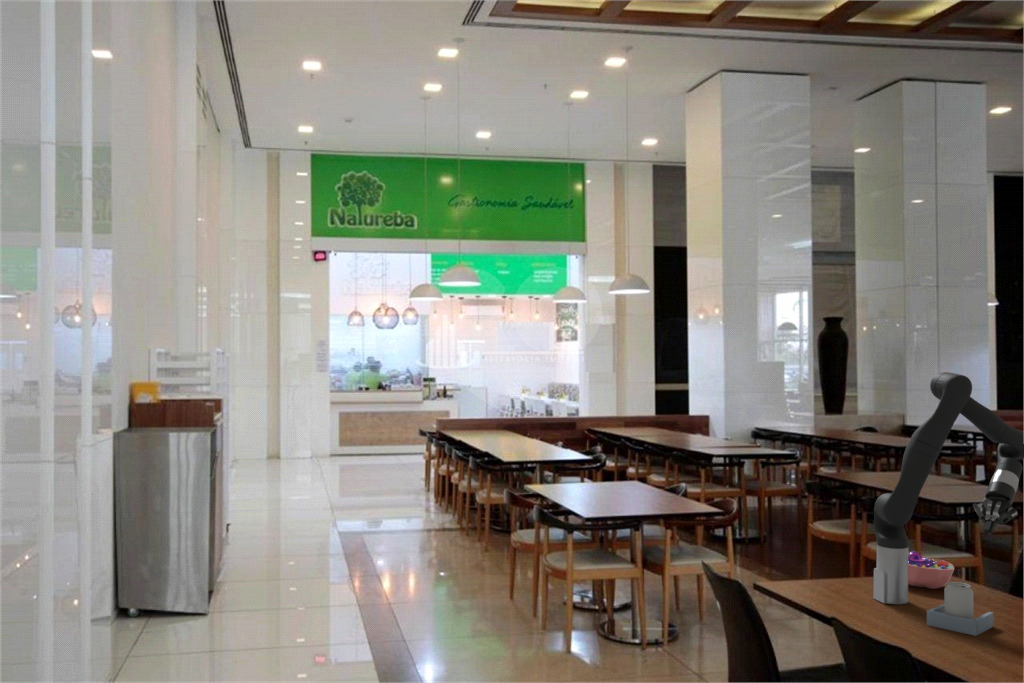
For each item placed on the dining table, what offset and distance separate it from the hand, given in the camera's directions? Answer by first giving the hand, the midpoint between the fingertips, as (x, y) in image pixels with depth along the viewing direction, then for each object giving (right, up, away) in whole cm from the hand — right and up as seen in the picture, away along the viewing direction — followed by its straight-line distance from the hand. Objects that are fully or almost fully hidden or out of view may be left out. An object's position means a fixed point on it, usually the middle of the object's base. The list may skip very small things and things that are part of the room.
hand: (987, 532), depth 277 cm
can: (-16, -24, -15) cm, 32 cm away
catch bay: (-15, -24, -15) cm, 32 cm away
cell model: (-7, -24, +28) cm, 38 cm away
